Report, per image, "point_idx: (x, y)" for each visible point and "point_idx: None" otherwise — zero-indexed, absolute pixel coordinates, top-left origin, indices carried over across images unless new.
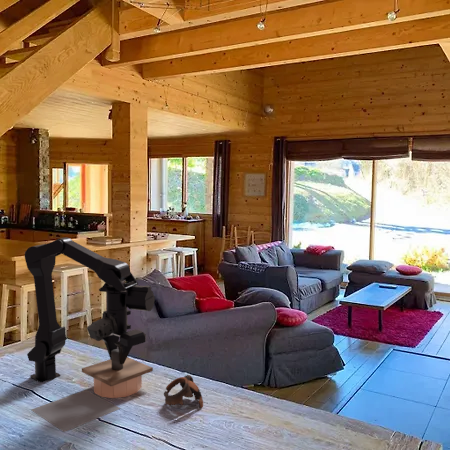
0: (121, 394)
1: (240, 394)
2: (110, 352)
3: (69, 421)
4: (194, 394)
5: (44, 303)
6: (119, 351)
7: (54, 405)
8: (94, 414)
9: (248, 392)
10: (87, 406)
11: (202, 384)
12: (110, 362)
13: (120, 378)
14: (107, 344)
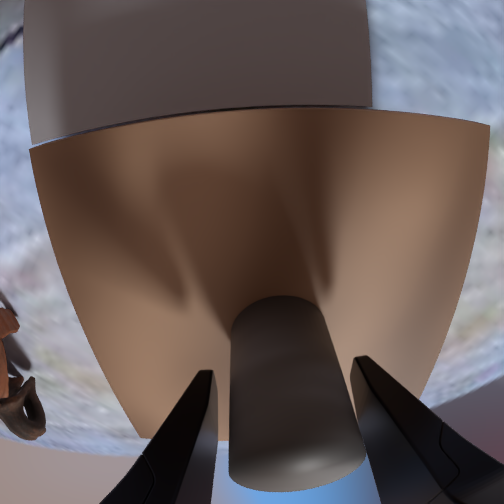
0: None
1: None
2: (383, 412)
3: None
4: (14, 386)
5: None
6: (158, 484)
7: None
8: (56, 11)
9: (32, 442)
10: (157, 3)
11: (106, 438)
12: (404, 340)
13: (64, 248)
14: (443, 477)
